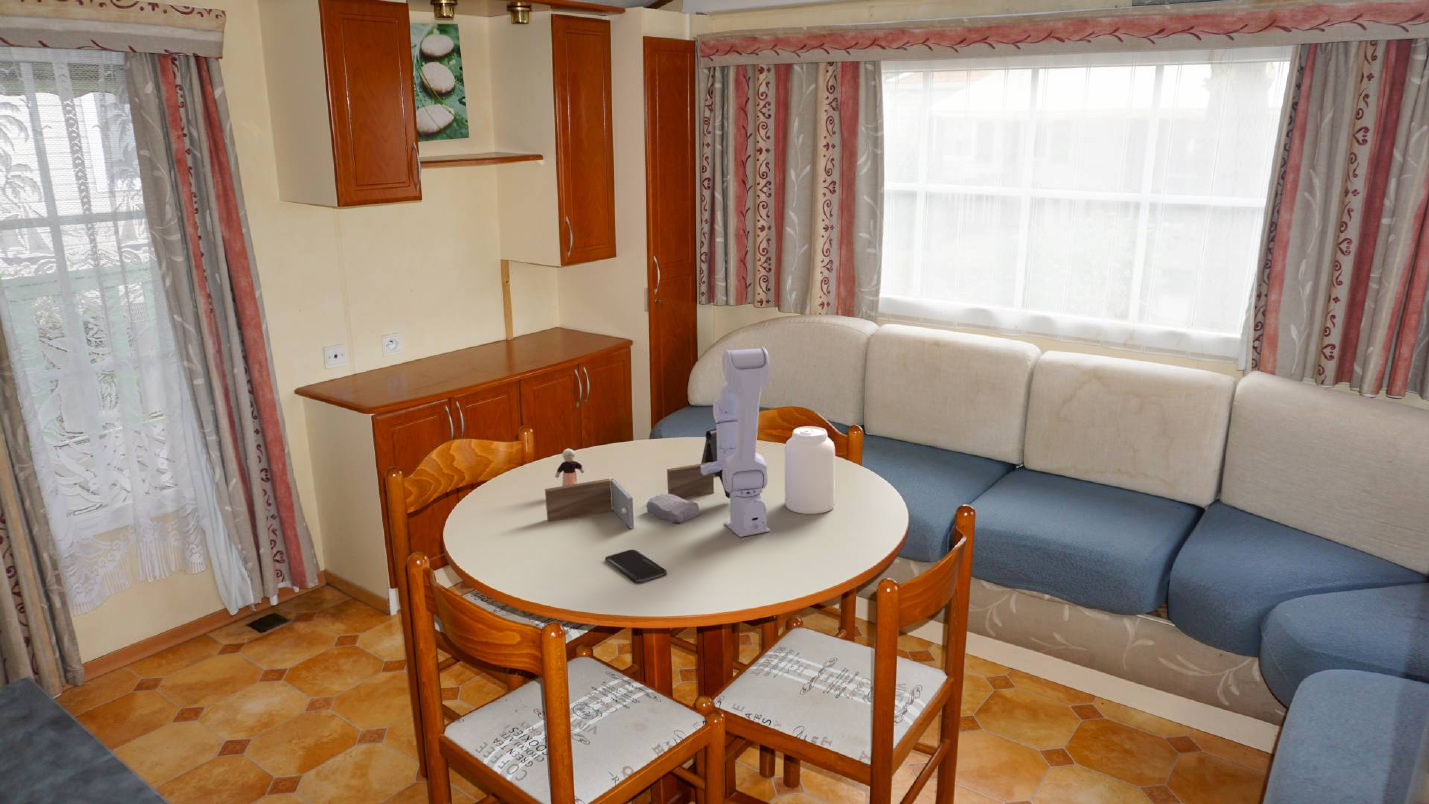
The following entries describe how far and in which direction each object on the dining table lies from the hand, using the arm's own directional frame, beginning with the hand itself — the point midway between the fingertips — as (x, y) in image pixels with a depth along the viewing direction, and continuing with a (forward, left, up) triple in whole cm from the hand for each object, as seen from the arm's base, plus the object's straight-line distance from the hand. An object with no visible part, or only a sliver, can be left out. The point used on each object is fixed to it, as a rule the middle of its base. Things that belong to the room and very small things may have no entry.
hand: (729, 496), depth 250 cm
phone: (-26, +34, -2) cm, 43 cm away
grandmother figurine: (+24, +35, -2) cm, 42 cm away
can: (-11, -17, -2) cm, 20 cm away
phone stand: (+24, -7, -2) cm, 25 cm away
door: (+2, +28, -1) cm, 29 cm away
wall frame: (+9, +23, -2) cm, 25 cm away
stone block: (0, +15, -2) cm, 15 cm away
